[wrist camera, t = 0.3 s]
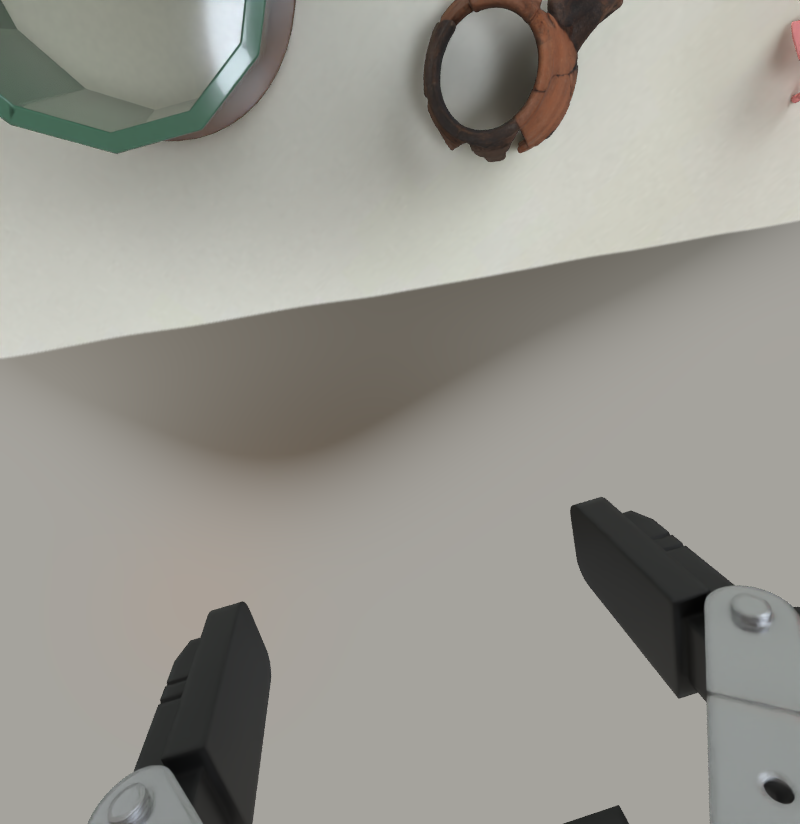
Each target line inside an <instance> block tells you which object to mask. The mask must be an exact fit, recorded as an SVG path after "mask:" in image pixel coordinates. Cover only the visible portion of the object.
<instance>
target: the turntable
mask: <svg viewBox="0 0 800 824" xmlns="http://www.w3.org/2000/svg"><path fill="white" fill-rule="evenodd" d="M295 3H296V0H273V7H272V14H271V22H270V29H269V37H268V45H267V52H266V54H265V55H264V56H263V58H262V59H261V60H260V62H259V63H258V64H257V65H256V67H255V68H254V69H253V71H252V72H251V73H250V74H249V76H248V77H247V78H246V80H245V81H244V82H243V84H242V85H241V86H240V87H239V89H238V90H237V91H236V93H235V94H234V95H233V96H232V98H231V99H230V100H229V102H228V103H227V104H226V106H225V107H224V108H223V109H222V110H221V111H220V112H219V113H218V114H217V115H216V116H215V117H214V118H213V119H212V120H211V121H210V122H209V123H208V124H207V125H206V126H205V127H204V128H203V129H202V130H200V131H197V132H193V133H189V134H186V135H182V136H179V137H175V138H171V139H168V140H164V141H183V140H190V139H197V138H200V137H203V136H207V135H210V134H213V133H216V132H218V131H220V130H222V129H224V128H226V127H228V126H230V125H231V124H233V123H234V122H236V121H237V120H238V119H240V118H241V117H243V116H244V115H245V114H246V113H247V112H248V111H249V110H250V109H251V108H252V107H253V106H255V105H256V104H257V103H258V101H259V100H260V99H261V97H262V96H263V95H264V93H265V92H266V91H267V89H268V88H269V87H270V85H271V83H272V81H273V80H274V78H275V76H276V74H277V72H278V70H279V68H280V66H281V63H282V61H283V58H284V55H285V53H286V50H287V47H288V43H289V39H290V35H291V31H292V26H293V19H294V11H295Z"/></svg>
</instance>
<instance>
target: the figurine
mask: <svg viewBox="0 0 800 824" xmlns="http://www.w3.org/2000/svg"><path fill="white" fill-rule="evenodd" d="M791 29H792V39H793V42H794V45H795V49H796V52H797V55H798V59H799V60H800V20H798V21H794V22H792V25H791ZM798 101H800V93H798V94H796V95H794V96H793V97H792V102H793V103H796V102H798Z"/></svg>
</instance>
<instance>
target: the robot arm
mask: <svg viewBox="0 0 800 824" xmlns="http://www.w3.org/2000/svg"><path fill="white" fill-rule="evenodd" d="M570 513H571V521H572V529H573V536H574V543H575V549H576V557H577V562H578V565H579V568H580V571H581V573H582V575H583V577H584V579H585V581H586V582H587V584H588V585H589V586H590V588H591V589H592V590H593V592H594V593H595V594H596V595H597V597H598V598H599V599H600V600H601V602H602V603H603V604H604V605H605V607H606V608H607V609H608V610H609V612H610V613H611V614H612V615H613V617H614V618H615V619H616V621H617V622H618V623H619V624H620V625H621V627H622V628H623V629H624V630H625V632H626V633H627V634H628V636H629V637H630V638H631V639H632V640H633V642H634V643H635V644H636V645H637V647H638V648H639V649H640V651H641V652H642V653H643V654H644V656H645V657H646V658H647V659H648V661H649V662H650V663H651V665H652V666H653V667H654V668H655V670H657V672H658V673H659V675H660V676H661V677H662V678H663V680H664V681H665V682H666V683H667V685H668V686H669V687H670V688H671V689H672V691H673V692H674V693H675V694H676V696H677V697H678V698H682V697H686V696H688V695H692V694H695V693H699V694H700V695H701V696H702V697H703V699H704V700H705V701H706V702H707V733H708V766H709V767H708V770H709V808H710V824H800V607H792V606H791V605H790V604H789V603H788V602H787V601H785V600H784V599H782V598H781V597H779V596H777V595H775V594H773V593H771V592H768V591H765V590H762V589H759V588H755V587H749V586H735V585H733V584H732V583H731V582H730V581H729V580H727V579H726V578H725V577H724V576H722V575H721V574H720V573H719V572H718V571H716V570H715V569H714V568H712V567H711V566H710V565H709V564H708V563H706V562H705V561H704V560H702V559H701V558H700V557H699V556H698V555H696V554H695V553H694V552H693V551H691V550H690V549H689V548H688V547H687V546H683V544H682V543H681V542H680V541H679V540H678V539H677V538H675V537H674V536H673V535H670V534H669V532H668V531H667V530H666V529H664V528H663V527H662V526H661V525H659V524H658V523H657V522H656V521H654V520H653V519H651V518H648V517H645V516H643V515H641V514H638V513H636V512H633V511H628V512H625V513H621V512H620V511H619V510H618V509H617V508H616V507H614V506H613V505H612V504H611V503H610V502H609V501H608V500H606V499H605V498H603V497H600V498H596V499H593V500H589V501H587V502H583V503H579V504H576V505H573V506H571V510H570ZM270 668H271V667H270V661H269V656H268V653H267V650H266V648H265V645H264V643H263V640H262V638H261V636H260V633H259V631H258V629H257V626H256V624H255V622H254V619H253V617H252V615H251V612H250V610H249V608H248V606H247V604H246V603H245V602H240V603H236V604H233V605H229V606H226V607H223V608H219V609H216V610H212V611H211V612H210V613H209V614H208V616H207V620H206V623H205V626H204V629H203V632H202V635H201V638H198V639H194V640H191V641H190V642H189V643H188V645H187V646H186V647H185V648H184V650H183V651H182V652H181V654H180V655H179V656H178V658H177V659H176V660H175V662H174V665H173V667H172V670H171V672H170V675H169V678H168V680H167V686H166V687H165V689H164V691H163V694H162V697H161V699H160V701H161V704H160V705H158V707H157V710H156V713H155V716H154V718H153V721H152V724H151V726H150V729H149V732H148V734H147V737H146V740H145V742H144V745H143V748H142V751H141V753H140V756H139V759H138V761H137V764H136V767H135V769H134V772H133V773H131V774H130V775H128V776H126V777H125V778H124V779H122V780H121V781H120V782H119V783H118V784H116V785H115V786H114V787H113V788H112V789H111V790H110V791H109V792H108V793H107V794H106V795H105V796H104V798H103V799H102V800H101V801H100V803H99V804H98V806H97V807H96V809H95V810H94V812H93V814H92V815H91V818H90V819H89V822H88V824H252V822H253V814H254V806H255V799H256V791H257V783H258V775H259V768H260V760H261V752H262V744H263V737H264V728H265V721H266V713H267V705H268V698H269V690H270V682H271V669H270ZM564 824H629V823H628V821H627V819H626V817H625V816H624V814H623V812H622V810H621V808H620V806H619V805H618V806H615V807H612V808H609V809H606V810H603V811H600V812H597V813H594V814H591V815H588V816H585V817H582V818H579V819H576V820H573V821H570V822H567V823H564Z"/></svg>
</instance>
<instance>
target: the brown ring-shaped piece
mask: <svg viewBox="0 0 800 824" xmlns="http://www.w3.org/2000/svg"><path fill="white" fill-rule="evenodd" d="M541 2H542V0H455V1H454V2H453V3H452V4H451V5H450V6H449V7H448V9H447V10H446V11H445V12H444V14H443V15H442V17H441V20H440V22H438V23H437V24H436V26H435V27H434V30H433V32H432V36H431V38H430V42H429V45H428V49H427V53H426V59H425V64H424V74H423V80H424V95H425V97H426V98H427V99H428V105H427V107H428V112H429V114H430V116H431V118H432V120H433V122H434V124H435V126H436V127H437V128H438V130H439V132H440V134H441V135H442V137H443V139H444V140H445V143H446V144H447V145H448V147H449V148H450V149H451V150H454V149H455V148H457V147H459V146H460V145H462V144H463V143H468V144H469V145H470V147H471V150H472V151H473V152H474V153H475V154H476V155H478V156H480V157H484V158H485V159H486V160H487V161H488V162H495V161H501V160H504V159H505V157H506V152H507V151H508V149H509V148H510V145H511V143H512V141H513V140H514V138H515V136H516V135H517V133H518V131H519V130H520V131H521V133H522V135H523V137H524V138H525V139H524V140H522V141H520V142H519V143H518V148H517V150H518V152H519V153H522V152H525V151H527V150H529V149H531V148H533V147H534V146H537V145H539V144H540V143H541V142H542V141H543V140H545V139H547V138H549V137H550V136H551V135H552V133H553V132H554V131H555V130H556V128H557V127H558V126H559V124H560V122H561V121H562V119H563V117H564V116H565V114H566V112H567V109H568V107H569V105H570V101H571V98H572V95H573V92H574V89H575V84H576V79H577V73H578V65H577V59H578V54H577V52H578V51H579V49H580V48H581V46H582V44H583V43H584V42H585V40H586V39H587V38H588V36H589V35H590V34H591V32H592V31H593V30H594V29H595V28H596V27H597V25H598V24H599V23H601V22H602V21H603V20H604V19H606V18H607V17H608V16H609V15H610V14H612V13H613V12H614V11H616V10H617V9H618V8H619V7H620V6H621V5H622V3H623V0H548V4H547V5H548V12H547V13H546V12H544V11H543V10H541V9H540V5H541ZM488 8H504V9H508V10H511V11H513V12H515V13H516V14H518V15H519V16H521V17H522V18H523V20H524V21H525V22H526V23H527V24H528V25H529V26H530V28H531V30H532V32H533V34H534V37H535V40H536V44H537V48H538V71H537V76H536V80H535V84H534V87H533V89H532V91H531V93H530V95H529V97H528V99H527V101H526V103H525V104H524V106H523V107H522V108H521V109H520V111H519V112H518V113H517V114H516V115H515V116H514V117H513V118H512V119H511V120H510V121H508V122H507V123H505V124H503V125H501V126H499V127H497V128H494V129H489V130H474V129H470V128H467V127H464V126H463V125H461V124H460V123H459V122H458V121H457V120H455V119H454V118H453V116H452V115H451V114H450V112H449V111H448V109H447V107H446V105H445V103H444V100H443V97H442V93H441V87H440V71H441V63H442V58H443V55H444V52H445V50H446V47H447V44H448V42H449V40H450V38H451V36H452V35H453V33H454V31H455V29H456V25H457V24H458V23H459V22H460V21H461V20H462V19H463V18H464V17H466V16H467V15H468V14H470V13H471V12H473V11H475V12H479V11H481V10H484V9H488Z"/></svg>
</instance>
